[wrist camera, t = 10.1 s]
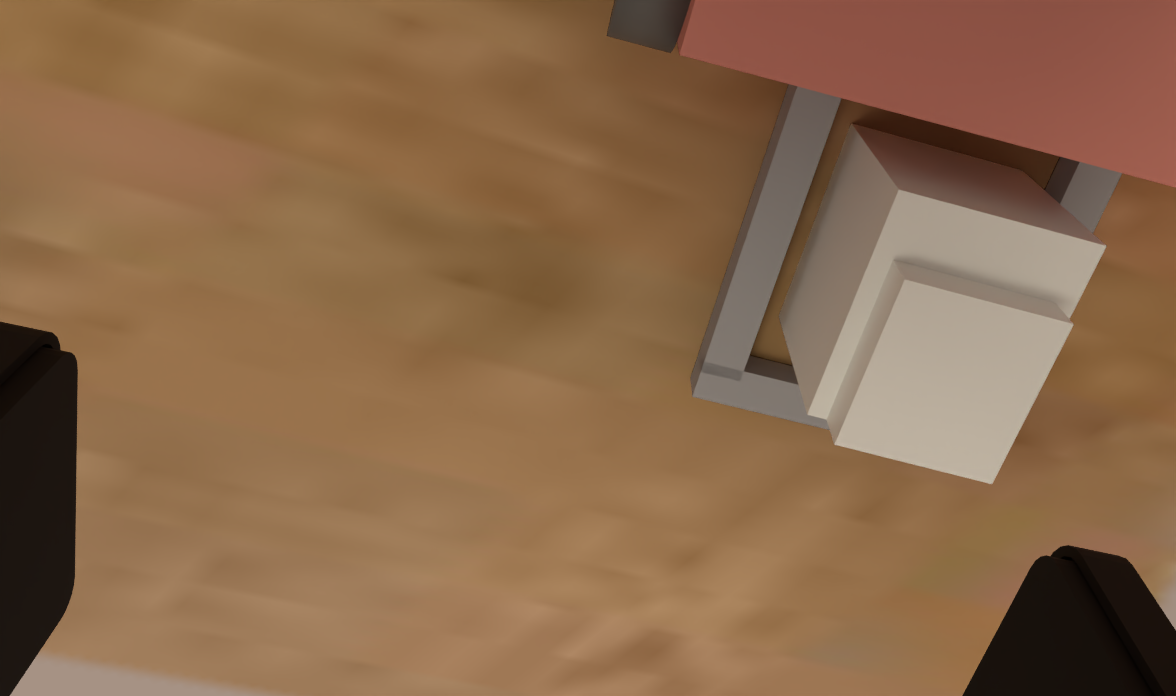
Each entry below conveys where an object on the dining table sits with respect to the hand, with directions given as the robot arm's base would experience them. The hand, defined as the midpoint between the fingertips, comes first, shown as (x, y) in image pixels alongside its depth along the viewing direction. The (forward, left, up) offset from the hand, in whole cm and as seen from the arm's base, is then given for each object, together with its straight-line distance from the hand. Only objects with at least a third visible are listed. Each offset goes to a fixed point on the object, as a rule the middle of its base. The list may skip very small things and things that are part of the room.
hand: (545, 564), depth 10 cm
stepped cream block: (+2, +9, -21) cm, 23 cm away
